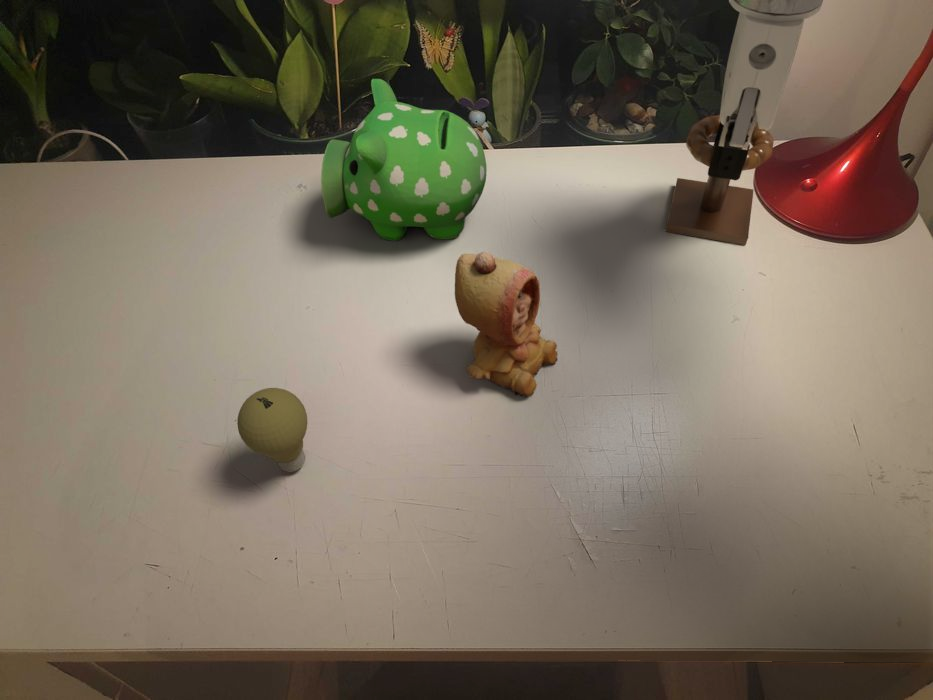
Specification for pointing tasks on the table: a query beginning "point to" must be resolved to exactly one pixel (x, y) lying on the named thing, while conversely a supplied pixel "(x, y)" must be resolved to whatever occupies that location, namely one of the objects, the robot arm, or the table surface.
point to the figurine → (502, 321)
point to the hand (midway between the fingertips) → (724, 166)
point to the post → (711, 210)
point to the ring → (704, 150)
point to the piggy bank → (405, 169)
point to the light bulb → (274, 426)
